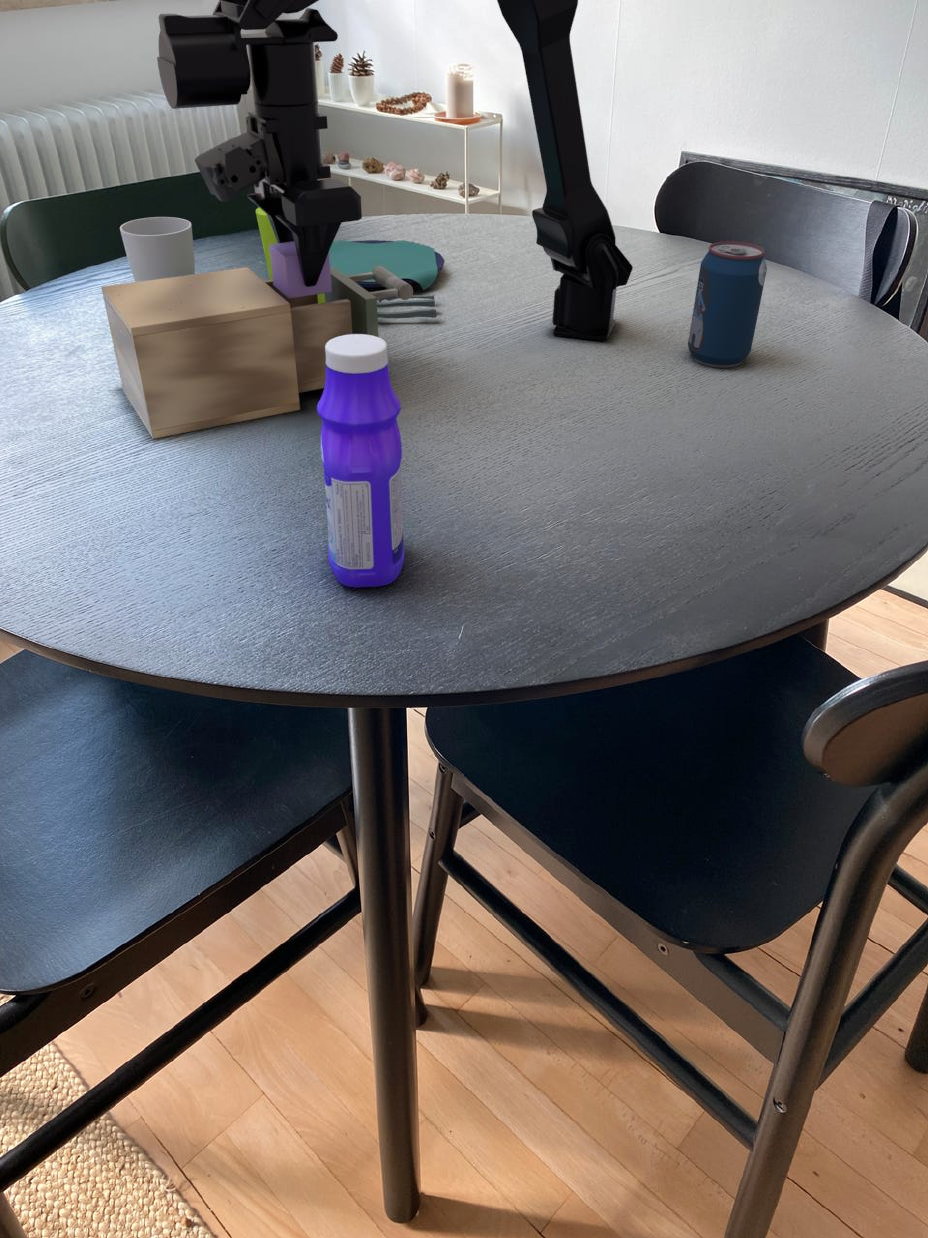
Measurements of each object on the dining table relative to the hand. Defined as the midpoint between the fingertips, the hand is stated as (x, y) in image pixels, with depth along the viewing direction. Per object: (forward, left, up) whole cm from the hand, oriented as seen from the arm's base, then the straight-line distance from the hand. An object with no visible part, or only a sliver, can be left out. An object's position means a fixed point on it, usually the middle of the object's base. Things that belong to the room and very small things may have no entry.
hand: (301, 278), depth 94 cm
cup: (+25, -15, -11) cm, 31 cm away
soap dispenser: (+7, -16, -10) cm, 20 cm away
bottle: (-19, +31, -11) cm, 38 cm away
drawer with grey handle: (-1, -1, -10) cm, 10 cm away
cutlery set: (+5, -32, -11) cm, 34 cm away
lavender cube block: (0, 0, -1) cm, 1 cm away
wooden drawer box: (+8, +8, -11) cm, 15 cm away
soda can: (-41, -21, -11) cm, 47 cm away
